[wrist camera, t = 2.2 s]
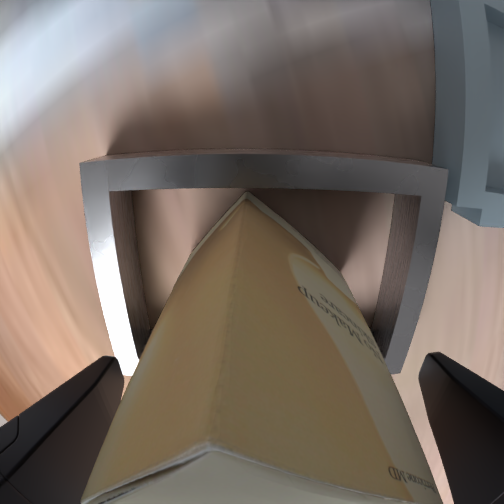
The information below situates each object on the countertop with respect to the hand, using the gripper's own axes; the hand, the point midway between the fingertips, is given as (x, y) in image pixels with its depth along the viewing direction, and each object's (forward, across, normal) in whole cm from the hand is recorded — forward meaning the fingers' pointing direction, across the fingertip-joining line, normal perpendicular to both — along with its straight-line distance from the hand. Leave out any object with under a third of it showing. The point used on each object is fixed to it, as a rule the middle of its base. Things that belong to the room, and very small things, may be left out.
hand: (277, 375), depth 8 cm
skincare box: (+8, 0, 0) cm, 8 cm away
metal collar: (+7, 0, 0) cm, 7 cm away
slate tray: (+7, -14, -9) cm, 18 cm away
